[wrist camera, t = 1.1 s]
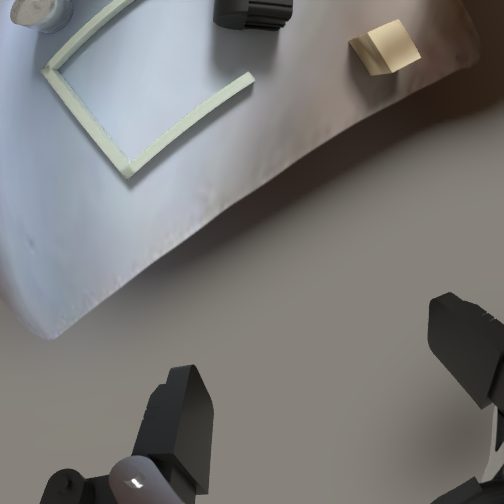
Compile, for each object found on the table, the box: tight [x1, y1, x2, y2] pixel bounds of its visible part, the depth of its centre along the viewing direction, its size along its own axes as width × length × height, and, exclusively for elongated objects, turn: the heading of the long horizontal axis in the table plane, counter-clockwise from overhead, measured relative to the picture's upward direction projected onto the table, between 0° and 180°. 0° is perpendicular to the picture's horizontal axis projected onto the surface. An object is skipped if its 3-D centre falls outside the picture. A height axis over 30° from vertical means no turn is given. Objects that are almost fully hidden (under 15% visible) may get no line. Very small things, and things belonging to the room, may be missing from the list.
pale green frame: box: [41, 0, 255, 180], centre depth 25 cm, size 18×17×2 cm
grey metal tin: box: [10, 0, 73, 34], centre depth 17 cm, size 5×5×7 cm
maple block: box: [349, 19, 421, 76], centre depth 25 cm, size 5×5×5 cm
